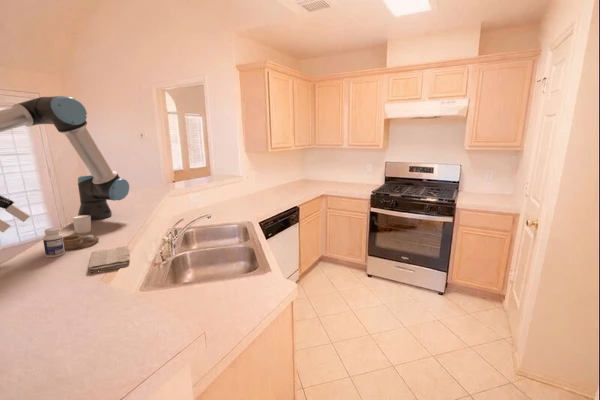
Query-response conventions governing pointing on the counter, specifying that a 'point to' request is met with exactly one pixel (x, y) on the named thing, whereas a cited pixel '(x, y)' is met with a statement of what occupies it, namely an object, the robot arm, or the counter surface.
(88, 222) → the white cup
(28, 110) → the robot arm
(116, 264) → the washcloth
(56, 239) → the pill bottle
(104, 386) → the counter surface
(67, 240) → the fire pit
